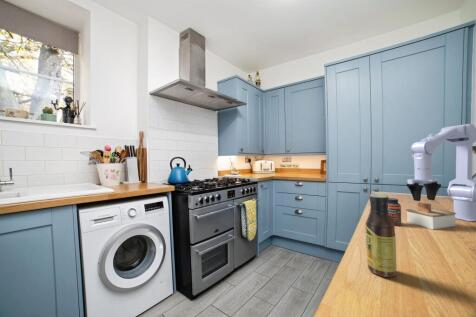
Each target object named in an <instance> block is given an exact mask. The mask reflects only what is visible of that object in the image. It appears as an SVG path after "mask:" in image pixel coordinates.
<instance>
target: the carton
mask: <svg viewBox="0 0 476 317" xmlns="http://www.w3.org/2000/svg"><path fill="white" fill-rule="evenodd" d="M406 218H407V219H406V220H407V221H406V222H407V223H408V224H412V225H416V226H419V227H423V228H427V229H430V230H441V229H450V228H456V218H455V215H444V216H434V217H432V216H428V215H423V214H419V213H415V212H410V211H406Z"/></svg>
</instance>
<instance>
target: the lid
mask: <svg viewBox="0 0 476 317" xmlns="http://www.w3.org/2000/svg"><path fill="white" fill-rule="evenodd" d="M405 210H406V212H407V211H410V212H415V213H419V214H423V215H428V216H432V217H434V216H444V215H454V214H456V213H454V211H449V210H444V209H438V208H433V207H432V204H431V203H425V202H421V201H418V202H417V207H416V208H406V209H405Z"/></svg>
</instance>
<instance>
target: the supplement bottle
mask: <svg viewBox="0 0 476 317" xmlns="http://www.w3.org/2000/svg"><path fill="white" fill-rule="evenodd" d="M388 211H389V213H388V215H389V216H390V218H391V219H392V220H393V222H394V226H395V227H397V226H401V225H402V206H401V204H400V203H399V199H398V198H395V197H389V203H388Z"/></svg>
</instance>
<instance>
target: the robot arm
mask: <svg viewBox="0 0 476 317" xmlns="http://www.w3.org/2000/svg"><path fill="white" fill-rule="evenodd" d="M445 141H446V142H447V143H449V144H451V145H455V147H456V151H455V153H456V155H455V156H456V158H455V178H454V179H453V180H450V181H449V182H448V187H447V190H446V192H447V194H448V196H449V197H450V198H451V199H452V202H453V212H454V213H456V214H454V215H455V219H458V220H462V221H466V222H476V180H474V179H473V144H474V143H476V126H475V125H474V124H473V123H466V124H460V125H452V126H444V127H443V128H441V129H440V132H438V133H435V134H434V133H431V134H428V135H427V137H426V138H422V139H421V140H420V141H416V142H414V143H412V144H411V145H410V148H409V151H410V154H411V155H412V156H411V157H412V159H413V163H414V166H413V167H414V168H413V169H414V170H413V171H414V178H410V179H409V178H408V179H407V183H406V187H407V188H408V190H409V192H410V194H411V196H412V199H413V201H415V202H421V197H422V191H423V189H424V188H425V192H426V198H427V200H430V201H435V199H436V196H437V193H438V192H439V190H440V188H441V187H442V184H441V183H440V178H433V154H435V153H436V150H437V149H438V148H439V147H441V146H442V145H443V144H444V143H445ZM422 184H423V185H422Z"/></svg>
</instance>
